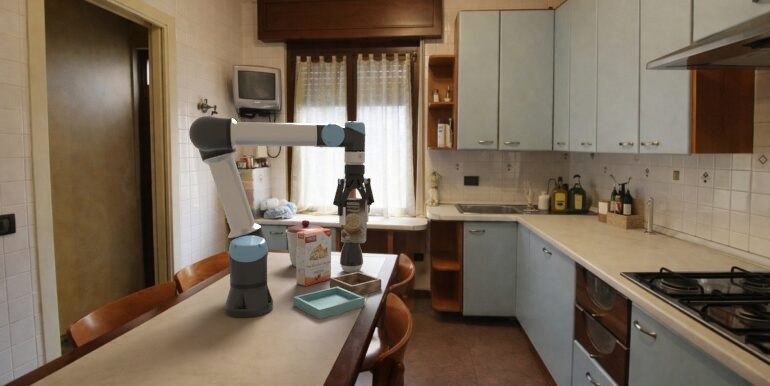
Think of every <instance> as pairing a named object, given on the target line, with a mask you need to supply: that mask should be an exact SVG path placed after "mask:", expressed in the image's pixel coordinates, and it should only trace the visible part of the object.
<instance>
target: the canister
mask: <svg viewBox="0 0 770 386" xmlns="http://www.w3.org/2000/svg"><path fill="white" fill-rule="evenodd" d="M320 228H323V227H322V226H321V225H316V224H315V225H314V224H310V221H309V220H307V219H304V220H302V221H301V224H298V225H294V226H290V227H288V228H287V229H285V233H286V235H287V236H286V237H287V243H288V244H287V245H288V253H289V258H290V259H289V260H290V263H291V264H292V265H293V266H294V267H296V233H297V232H301V231H307V230H314V229H320Z"/></svg>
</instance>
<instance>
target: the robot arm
mask: <svg viewBox="0 0 770 386" xmlns="http://www.w3.org/2000/svg"><path fill="white" fill-rule="evenodd" d="M365 125H366V124H365V123H364V122H363V121H351V120H349V121H345V123H344V126H341V125H339V124H338V123H335V122H329V123H311V122H310V123H304V122H303V123H302V122H299V123H298V122H261V121H260V122H259V121H258V122H257V121H256V122H254V121H251V122H250V121H236V120H235V119H234V118H226V117H225V118H224V117H216V116H211V115H203V116H200V117H198V118H196V119H195V120H194V121H193V122H192V123H191V124H190V127H189V131H188V136H189V140H190V142H191V144H192V145H193V146H194V147H195V148H196V149H198V151H199V155H200V158H201V161H202V162H203V163H205V164H206V165H208V167H209V170H210V172H211V176H212V179H213V182H214V184H215V188H216V191H217V194H218V197H219V200H220V203H221V205H222V208H223V211H224V214H225V218H226V220H227V222H228V226H229V229H230V232H229V234H228V235H227V237H228V241H229V246H228V247H229V248H228V255H229V285H230V287H229V290H228V295H227V297H226V300H225V304H224V312H225V314H226V315H227V316H230V317H234V318H252V317H258V316H263V315H265V314H267V313H270V312H271V311H272V310H273V309H274V299H273V297H272V293H271V292H270V289H269V286H268V256H269V252H270V247H269V243H268V240H267V239H266V237H265V234H264V232H263V228H262V226H261V225H260V224H258V223H256V221H255V218H254V215H253V212H252V209H251V206H250V203H249V200H248V196H247V193H246V191H245V186H244V184H243V181H242V179H241V174H240V172H239V170H238V166H237V163H236V160H235V157H236V155H237V153H238V152H237V149H236V148H237V147H315V148H344V159H343V160H344V163H345V164H344V175H345V176H344V178H338V179H337V186H336V191H335V194H334V199H333V204H332V205H333V206H336V207H337V215H338V216H339V217H338V220H339V223H338V224H339V225H345V207H343V206H344V204H345V202H346V200H347V198H349V196H350V194H351V192H352V191H353V190H357V191H358V193H359V195H360V198H363V199H367V223H369V214H370V210H371V207H370V206H372V204H374V203H375V198H374V194H373V190H372V185H371V181H372V180H371V179H372V178H370V177H365V176H364V175H365V174H366V173H365V171H366V167H365V164H364V163H366V126H365Z"/></svg>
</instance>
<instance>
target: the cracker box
mask: <svg viewBox="0 0 770 386" xmlns="http://www.w3.org/2000/svg"><path fill="white" fill-rule="evenodd" d="M295 267H296V269H295V270H296V271H295V273H296V275H295V282H296V284H297V285H300V286H304V287H308V286H310V285H315V284H318V283H321V282H324V281H328V280H329V281H330V278H332V229H329V228H323V227H322V228H320V229H314V230H307V231H301V232H297V233H296V266H295Z"/></svg>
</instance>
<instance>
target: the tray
mask: <svg viewBox="0 0 770 386" xmlns="http://www.w3.org/2000/svg"><path fill="white" fill-rule="evenodd" d="M293 306H294V307H296V308H298V309H300V310H302V311H303V312H306V313H307V314H309V315H311V316H313V317H315V318H316V319H318V320H321V319H325V318H328V317H333V316H336V315H339V314H342V313H345V312H349V311H352V310H357V309H360V308H363V307H365V306H366V297H364V296H363V295H357V294H355V293H352V292H350V291H347V290H345V289H342V288H340V287H338V286H337V287H333V288H330V287H329V288H325V289H321V290H316V291H312V292H309V293H304V294H299V295H296V296H295V295H294V296H293Z"/></svg>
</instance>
